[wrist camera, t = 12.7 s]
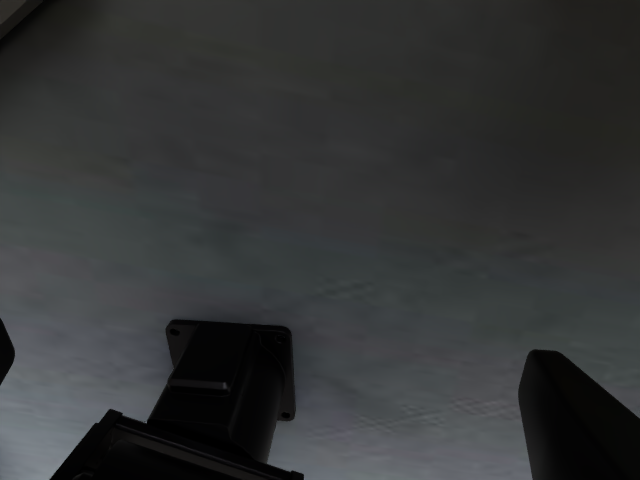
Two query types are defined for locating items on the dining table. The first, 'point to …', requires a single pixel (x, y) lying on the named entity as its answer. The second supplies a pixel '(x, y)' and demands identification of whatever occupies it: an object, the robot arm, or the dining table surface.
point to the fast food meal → (14, 13)
